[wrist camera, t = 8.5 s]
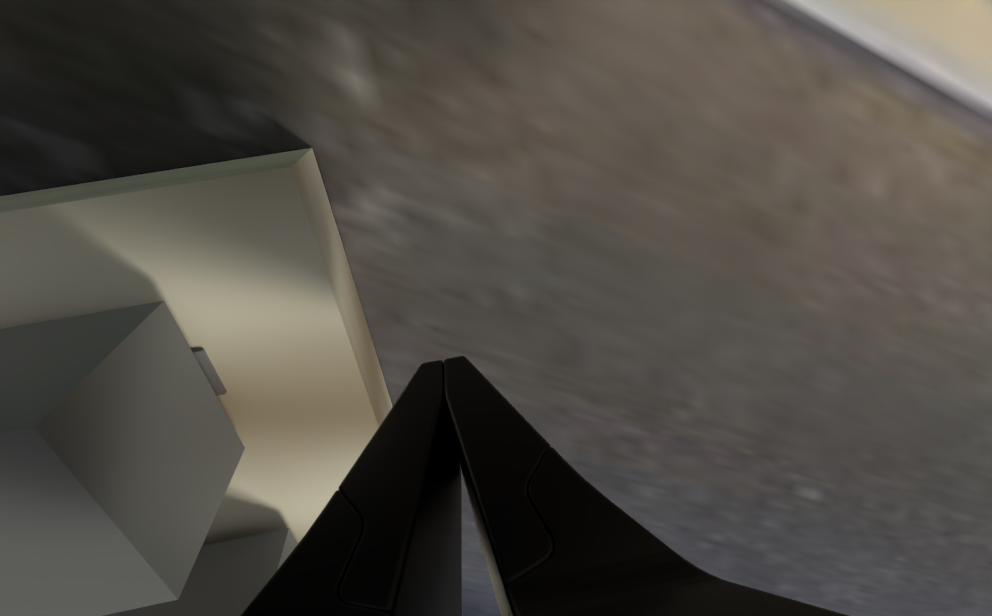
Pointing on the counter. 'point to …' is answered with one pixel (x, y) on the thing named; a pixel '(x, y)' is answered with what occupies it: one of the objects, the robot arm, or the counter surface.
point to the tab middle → (226, 576)
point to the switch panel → (222, 310)
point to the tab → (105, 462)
